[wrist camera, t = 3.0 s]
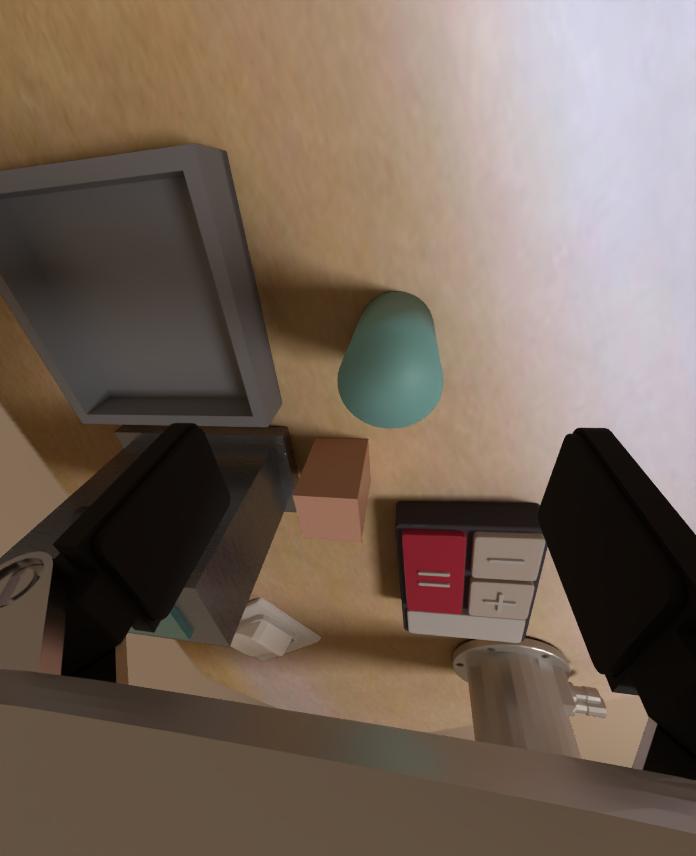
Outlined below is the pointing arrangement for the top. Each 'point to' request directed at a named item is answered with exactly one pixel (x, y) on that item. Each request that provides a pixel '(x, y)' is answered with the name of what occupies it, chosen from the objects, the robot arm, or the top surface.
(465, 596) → the calculator
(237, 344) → the parts tray
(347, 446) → the terracotta block
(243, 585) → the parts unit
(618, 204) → the top surface
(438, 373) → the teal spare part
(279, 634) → the light switch
